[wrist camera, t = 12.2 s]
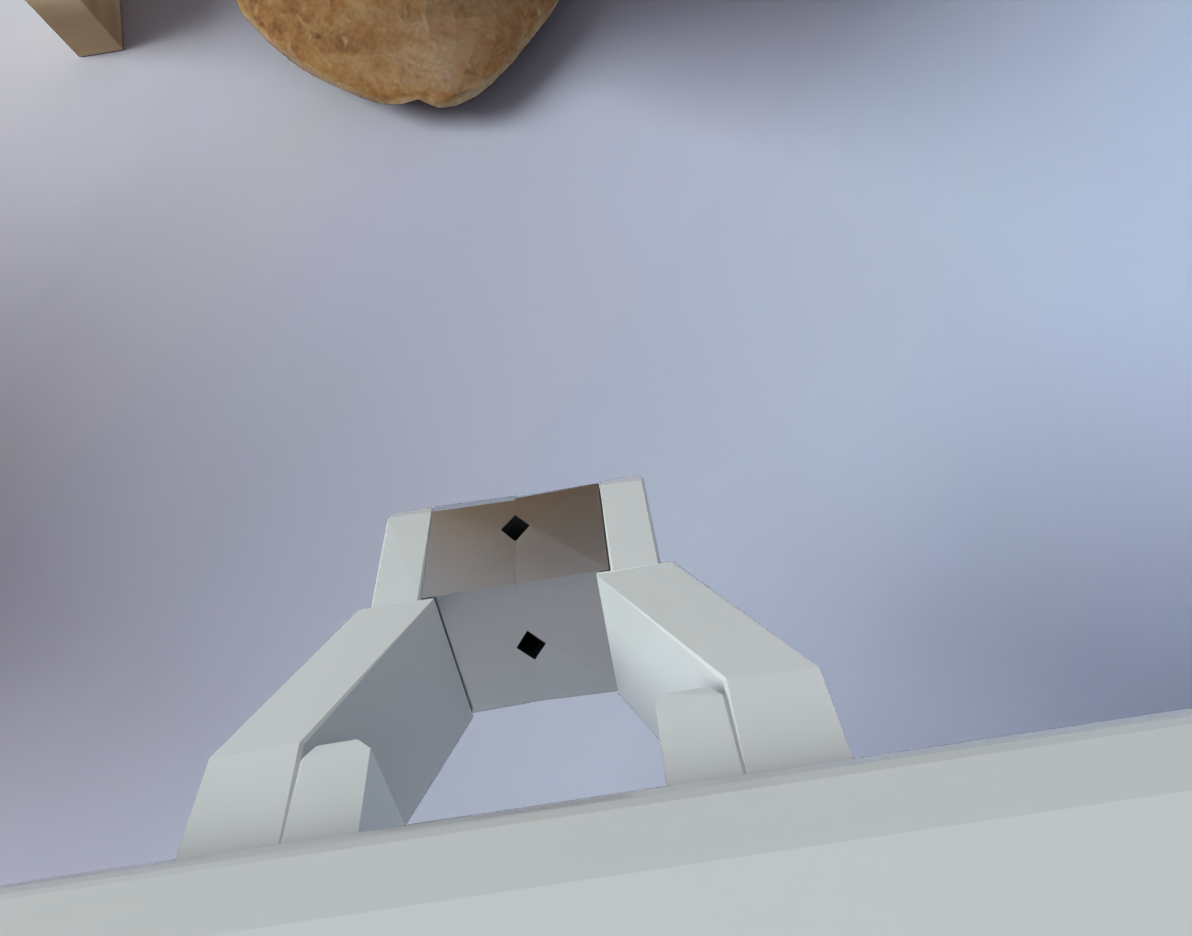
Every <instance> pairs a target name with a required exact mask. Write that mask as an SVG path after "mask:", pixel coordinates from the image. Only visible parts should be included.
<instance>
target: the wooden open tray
mask: <svg viewBox="0 0 1192 936" xmlns="http://www.w3.org/2000/svg"><path fill="white" fill-rule="evenodd" d="M25 1H26V2H27V3H28V4H29V5H30V6H31V7H32V8H33V9H34V10H35V11H36V12H37V13H38V14H39V15H40V16H41V17H42V18H43V19H44V21H45V22H46V23H47V24H48V25H49V26H50V27H51V28H52V29H53V30H54V31H55V32H56V33H57V34H58V35H59V36H60V37H61V38H62V39H63V40H64V41H65V43H66V44H67V45H68V46H69V47H70V48H71V49H72V50H73V51H74V52H75V53H76V54H77V55H78V56H79V57H81V56H87V55H93V54H100V53H106V52H112V51H118V50H123V42H122V27H121V12H120V0H25Z"/></svg>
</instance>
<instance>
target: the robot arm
mask: <svg viewBox="0 0 1192 936" xmlns="http://www.w3.org/2000/svg"><path fill="white" fill-rule="evenodd" d="M600 492H601V494H600ZM614 691H618V694H619V695H620V697H621V698H622V699H623V700H624V701H625V702H626V703H627V704H628V706H629V707H630V708H631V709H632V710H633V711H634V712H635V713H636V715H637V716H638V717H639V718H640V719H641V720H642V721H643V722H644V724H645V725H646V726H647V727H648V728H649V729H650V730H651V731H652V732H653V734H654V735H655V736H656V737H657V738H658V739H659V740H660V742H661V749H662V756H663V763H664V770H665V777H666V784H667V786H664V787H657V788H650V789H643V790H637V791H630V792H623V793H616V794H610V795H603V796H596V797H589V798H583V799H576V800H569V801H563V802H556V803H549V804H543V805H536V806H529V807H523V808H516V809H509V810H502V811H496V812H489V813H482V814H476V815H469V816H462V817H456V818H449V819H442V820H436V821H429V822H422V823H415V824H409V825H406V824H407V823H408V821H409V819H410V818H411V816H412V815H413V813H414V811H415V810H416V808H417V806H418V805H419V803H420V802H421V800H422V798H423V797H424V795H425V794H426V792H427V790H428V789H429V787H430V786H431V784H432V782H433V781H434V779H435V778H436V776H437V774H438V773H439V771H440V770H441V768H442V766H443V765H444V763H445V762H446V760H447V758H448V757H449V755H450V754H451V752H452V750H453V749H454V747H455V746H456V744H457V742H458V741H459V739H460V738H461V736H462V734H463V733H464V731H465V730H466V728H467V726H468V725H469V723H470V722H471V720H472V718H473V714H472V713H475V712H480V711H486V710H492V709H497V708H503V707H508V706H514V705H520V704H525V703H531V702H536V701H542V700H549V699H557V698H565V697H573V696H581V695H589V694H598V693H606V692H614ZM0 936H1192V708H1188V709H1181V710H1174V711H1167V712H1161V713H1154V714H1147V715H1141V716H1134V717H1127V718H1120V719H1114V720H1107V721H1100V722H1094V723H1087V724H1080V725H1073V726H1067V727H1060V728H1053V729H1047V730H1040V731H1033V732H1026V733H1020V734H1013V735H1006V736H1000V737H993V738H987V739H980V740H973V741H967V742H960V743H953V744H947V745H940V746H934V747H927V748H920V749H914V750H907V751H900V752H894V753H887V754H880V755H874V756H867V757H860V758H854V759H853V756H852V754H851V751H850V748H849V746H848V743H847V740H846V737H845V735H844V732H843V729H842V727H841V724H840V721H839V719H838V716H837V713H836V710H835V708H834V705H833V702H832V700H831V697H830V694H829V692H828V689H827V686H826V683H825V681H824V678H823V675H822V673H821V670H820V667H818V666H817V665H815V664H814V663H813V662H811V661H810V660H808V659H807V658H806V657H804V656H803V655H802V654H800V653H799V652H797V651H796V650H795V649H793V648H792V647H790V646H789V645H788V644H786V643H785V642H784V641H782V640H781V639H779V638H778V637H777V636H775V635H774V634H773V633H771V632H770V631H768V630H767V629H766V628H764V627H763V626H761V625H760V624H759V623H757V622H756V621H755V620H753V619H752V618H750V617H749V616H748V615H746V614H745V613H743V612H742V611H741V610H739V609H738V608H737V607H735V606H734V605H732V604H731V603H730V602H728V601H727V600H725V599H724V598H723V597H721V596H720V595H719V594H717V593H716V592H714V591H713V590H712V589H710V588H709V587H708V586H706V585H705V584H703V583H702V582H701V581H699V580H698V579H696V578H695V577H694V576H692V575H691V574H690V573H688V572H687V571H685V570H684V569H683V568H681V567H680V566H678V565H677V564H676V563H674V562H667V563H661V562H660V557H659V552H658V548H657V543H656V538H655V533H654V528H653V523H652V518H651V513H650V508H649V504H648V499H647V494H646V489H645V484H644V479H643V477H642V476H641V475H640V474H638V475H633V476H628V477H622V478H617V479H611V480H606V481H601V482H600V489H599V483H597V484H591V485H585V486H578V487H572V488H566V489H560V490H554V491H547V492H541V493H535V494H529V495H523V496H510V497H503V498H495V499H488V500H480V501H473V502H465V503H458V504H450V505H443V506H435V508H432V507H429V508H422V509H416V510H409V511H403V512H396V513H393V514H392V515H391V516H390V518H389V519H388V521H387V525H386V531H385V536H384V541H383V547H382V552H381V557H380V563H379V568H378V573H377V579H376V584H375V589H374V594H373V600H372V605H371V608H366V609H360V610H358V611H357V612H356V613H355V614H354V615H353V616H352V617H351V618H350V619H349V620H348V621H347V622H346V623H345V624H344V625H343V626H342V627H341V628H340V629H339V630H338V631H337V632H336V633H335V634H334V635H333V636H332V637H331V638H330V639H329V640H328V641H327V642H326V643H325V644H324V645H323V646H322V647H321V648H320V649H319V650H318V651H317V652H316V653H315V654H314V655H313V656H312V657H311V658H310V659H309V660H308V661H307V662H306V663H305V664H304V665H303V666H302V667H301V668H300V669H298V670H297V671H296V672H295V673H294V674H293V675H292V676H291V677H290V678H289V679H288V680H287V681H286V682H285V683H284V684H283V685H282V686H281V687H280V688H279V689H278V690H277V691H276V692H275V693H274V694H273V695H272V696H271V697H270V698H269V699H268V700H267V701H266V702H265V703H264V704H263V705H262V706H261V707H260V708H259V709H258V710H257V711H256V712H255V713H254V714H253V715H252V716H251V717H250V718H249V719H248V720H247V721H246V722H245V723H244V724H243V725H242V726H241V727H240V728H239V729H238V730H237V731H236V732H235V733H234V734H233V735H232V736H231V737H230V738H229V739H228V740H227V741H226V742H225V743H224V744H223V745H222V746H221V747H220V748H219V749H218V750H217V751H216V752H215V753H214V754H213V755H212V756H211V757H210V758H209V760H208V763H207V766H206V769H205V772H204V775H203V778H202V781H201V784H200V787H199V790H198V793H197V796H196V799H195V802H194V805H193V808H192V811H191V814H190V817H189V820H188V823H187V826H186V829H185V832H184V835H183V838H182V841H181V844H180V847H179V850H178V853H177V856H176V859H174V860H167V861H161V862H154V863H147V864H141V865H134V866H127V867H120V868H114V869H107V870H100V871H94V872H87V873H80V874H74V875H67V876H60V877H53V878H47V879H40V880H33V881H27V882H20V883H13V884H6V885H0Z"/></svg>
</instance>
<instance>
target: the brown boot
mask: <svg viewBox="0 0 1192 936" xmlns="http://www.w3.org/2000/svg"><path fill="white" fill-rule="evenodd" d="M236 2H237V3H238V6H239V9H240V12H241V13H242V14H243V15H244V16H245V18H246V19H247V20H248V21H249V22H250V23H251V24H252V25H253V26H254V28H255V29H256V30H257V31H258V32H259V33H260V34H261V35H262V36H263V37H264V38H265V39H266V40H267V41H268V42H269V43H270V44H271V45H272V46H273V47H275V48H276V49H277V50H278V51H280V52H281V53H282V54H283V55H284V56H286V57H287V58H288V59H289V60H291V61H292V62H293V63H295V64H296V65H297V66H299V67H300V68H301V69H303V70H305V71H306V72H308V73H310V74H312V75H313V76H315V77H317V78H319V79H321V80H323V81H325V82H328V83H330V84H332V85H334V86H337V87H339V88H341V89H343V90H346V91H348V92H350V93H353V94H355V95H357V96H360V97H362V98H365V99H368V100H371V101H374V102H377V103H385V104H404V103H407V102H411V101H414V100H418V99H419V100H421V101H423V102H425V103H427V104H430V105H432V106H435V107H437V108H444V107H451V106H456V105H459V104H461V103H463V102H465V101H467V100H469V99H472V98H474V97H476V96H478V95H479V94H480V93H481V92H483V91H484V90H485V89H486V88H487V87H489V86H490V85H491V84H492V83H493V82H494V81H495V80H496V79H497V78H498V77H499V76H500V75H501V74H502V73H503V72H504V71H505V70H506V69H507V68H508V67H509V66H510V65H511V64H512V63H513V62H514V60H515V59H516V58H517V56H518V55H519V54H520V53H521V51H522V50H523V49H524V48H525V46H526V45H527V44H528V43H529V41H530V40H531V39H532V38H533V36H534V35H535V34H536V33H537V31H538V30H539V29H540V28H541V26H542V25H543V24H544V22H545V21H546V20H547V19H548V17H549V16H550V14H551V13H552V11H553V9H554V8H555V6H556V5H557V3H558V2H559V0H236Z"/></svg>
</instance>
